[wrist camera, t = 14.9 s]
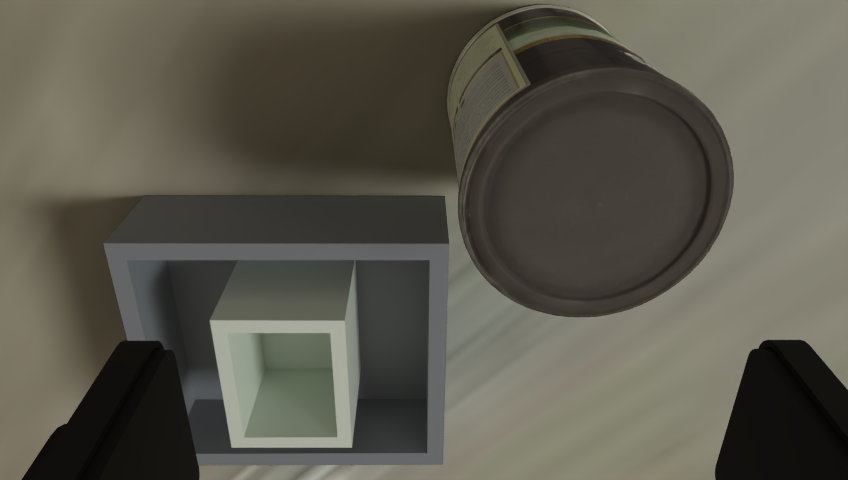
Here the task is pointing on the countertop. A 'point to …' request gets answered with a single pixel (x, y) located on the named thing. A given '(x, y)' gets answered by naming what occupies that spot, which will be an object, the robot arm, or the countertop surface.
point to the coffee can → (580, 166)
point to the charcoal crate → (298, 240)
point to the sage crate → (289, 353)
